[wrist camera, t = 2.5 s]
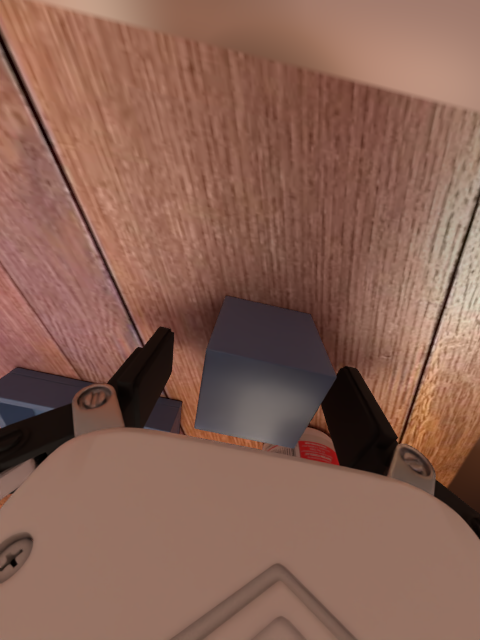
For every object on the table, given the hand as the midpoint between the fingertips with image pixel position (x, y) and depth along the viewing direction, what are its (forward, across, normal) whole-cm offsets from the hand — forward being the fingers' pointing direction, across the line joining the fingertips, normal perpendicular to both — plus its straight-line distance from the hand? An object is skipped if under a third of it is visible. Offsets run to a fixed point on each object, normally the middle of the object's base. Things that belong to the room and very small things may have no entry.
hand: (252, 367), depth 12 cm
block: (+2, 0, 0) cm, 2 cm away
